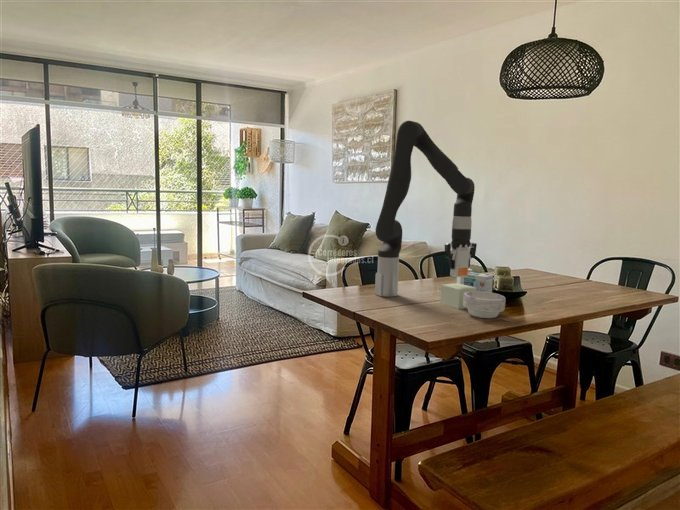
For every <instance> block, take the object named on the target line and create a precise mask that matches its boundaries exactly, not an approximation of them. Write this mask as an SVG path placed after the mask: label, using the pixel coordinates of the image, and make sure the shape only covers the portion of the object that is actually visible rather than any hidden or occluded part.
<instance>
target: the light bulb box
mask: <svg viewBox="0 0 680 510" xmlns="http://www.w3.org/2000/svg"><path fill="white" fill-rule="evenodd" d="M493 280H494V275H493V274H487V273H480V272H474V271H473V272H470V273H468V276H467V277H464V285H467V286H471V287H475V288H476V291H482V292H491V293H493V283H494V281H493Z"/></svg>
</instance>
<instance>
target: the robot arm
mask: <svg viewBox="0 0 680 510" xmlns="http://www.w3.org/2000/svg"><path fill="white" fill-rule="evenodd" d="M414 147H415V148H416V149H418V150H419V151H420V152H421V153H422V154H423V155H424V156H425V158H426V159H427V160H428V162H429V164H430V165H431V167H432V168H433V169H434V170H435V171H436V172H437V174H438V175H440V176H441V177H442V179H444V180H445V182H446V183H447V184H448V185H449V187H450V189H451V190H452V191H453V192H454V193H456V201H455V202H454V205H453V217H452V223H451V242H450V243H446V242H445V243H444V257H445V258H446V259H448V260H449V262H448V267H449V268H450V269H449V270H451V269H454V267H455V260H454V259H455V257H456V255H457V250H456V248H462V247H465V248H468V247H469V248H470V251H469V265H468V269H469V268H470V267H471V260H472V259H473V258H474V259H475V258H476V252H477V246H478V245H477V244H478V243H475V242H471V239H472V237H471V236H472V213H473V212H472V210H473V207H472V206H473V201H474V196H475V183H474V180H472V179H471V178H470V177H466V176H465V175H464V174H463V173H462V172H461V171H460V170H459V167H458V166H457V165H456V164H455V163H454V162H453V160H451V159H450V158H449V157H448V156H447V155H446V154H445V153H444V152H443V151H442V149H440V148H439V146H438V145H436V144H435V142H434V141H433V140H432V138H431V137H430V136H429V134H428V132H427V131H426V130H425V128H424V126H423V125H422V124H421V123H419V122H416V121H413V120H404V121H402V123H401V124H400V125H399V126H398V129H397V134H396V141H395V147H394V148H395V149H394V156H393V160H392V164H391V167H390V172H389V175H388V176H389V177H388V181H387V185H386V191H385V194H384V199H383V204H382V206H381V211H380V214H379V217H378V220H377V222H376V225H375V235H376V238H377V240H379V241H381V242H383V243H382V246H381V247H380V248H379V249H378V251H377V272H375V280H374V282H375V284H374V287H375V288H374V294H375V295H377V296H379V297H387V298H389V297H390V298H391V297H397V296H398V294H399V293H398V291H399V288H398V287H399V265H400V263H399V262H400V252H401V250H402V244H403V243H402V242H403V227H402V224H401V222H399V220H396V217H397V214H398V211H399V209H400V207H401V205H402V204H403V202H404V201H405V199H406V198H407V195H408V193H409V190H410V186H411V185H410V184H411V181H412V162H411V161H412V153H413V150H414ZM452 248H454V249H455V250H456V251H455V252H452Z"/></svg>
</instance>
